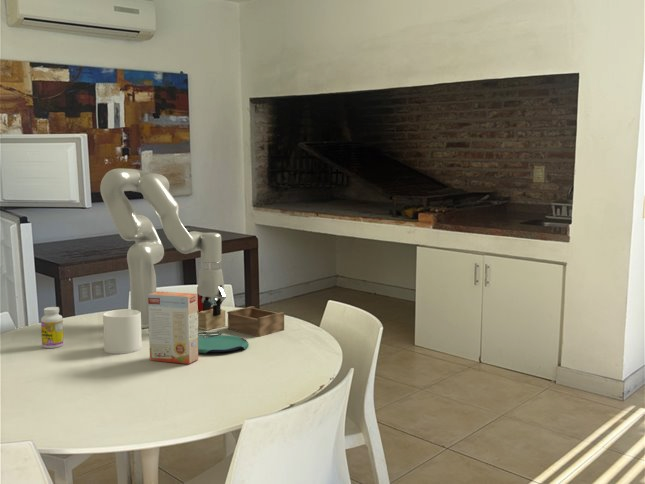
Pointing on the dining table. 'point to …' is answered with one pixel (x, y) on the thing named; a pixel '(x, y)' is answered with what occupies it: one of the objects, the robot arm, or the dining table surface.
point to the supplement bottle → (52, 328)
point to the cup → (122, 331)
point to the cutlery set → (219, 342)
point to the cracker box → (173, 327)
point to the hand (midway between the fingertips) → (211, 313)
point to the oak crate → (210, 320)
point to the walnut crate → (255, 321)
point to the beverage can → (200, 304)
